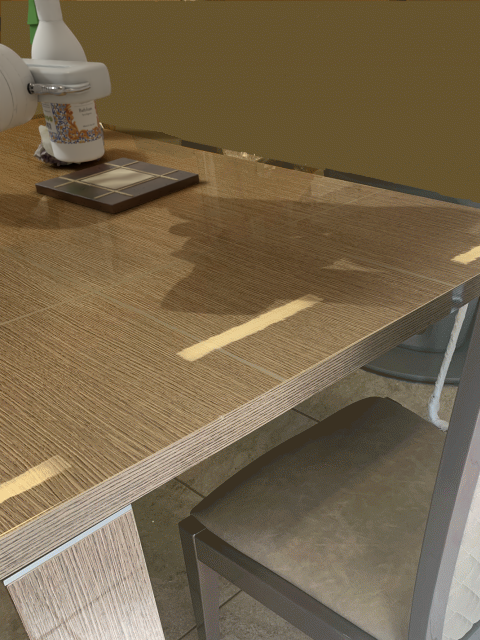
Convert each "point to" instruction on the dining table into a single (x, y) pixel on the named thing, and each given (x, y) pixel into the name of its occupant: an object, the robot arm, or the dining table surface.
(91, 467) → the dining table surface
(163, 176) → the game board
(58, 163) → the geode
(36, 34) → the bath foam
